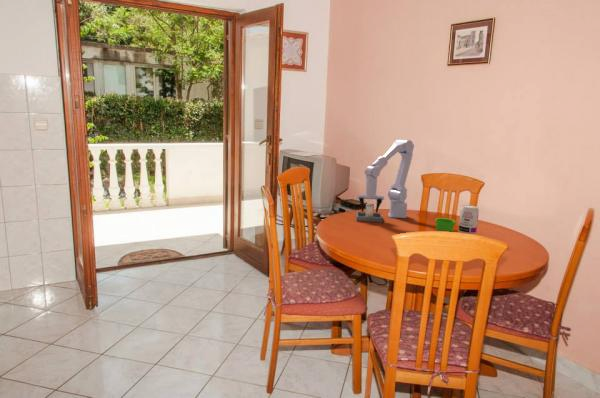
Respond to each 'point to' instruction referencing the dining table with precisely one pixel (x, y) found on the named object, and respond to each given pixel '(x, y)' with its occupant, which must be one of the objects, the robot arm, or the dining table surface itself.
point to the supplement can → (468, 219)
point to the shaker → (369, 210)
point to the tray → (376, 217)
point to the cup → (444, 224)
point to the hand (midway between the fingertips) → (369, 212)
